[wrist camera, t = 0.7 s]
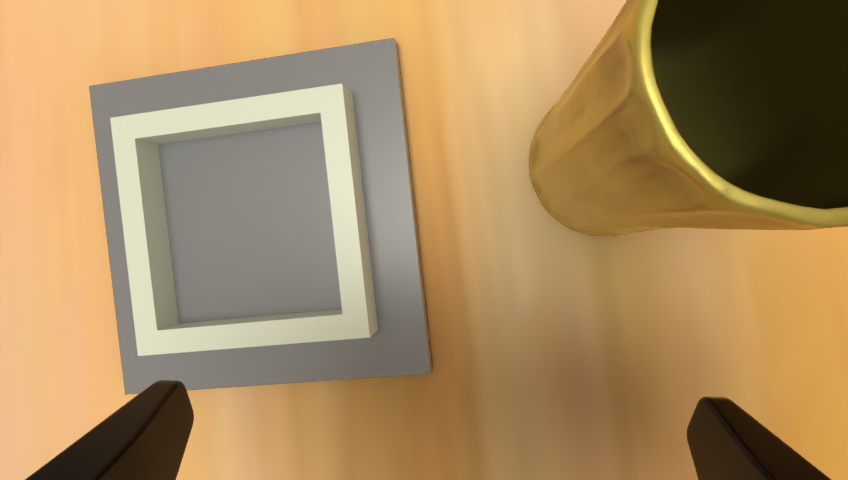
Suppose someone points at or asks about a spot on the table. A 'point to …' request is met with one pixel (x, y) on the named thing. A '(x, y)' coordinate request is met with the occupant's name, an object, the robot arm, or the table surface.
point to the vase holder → (263, 221)
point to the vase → (703, 121)
